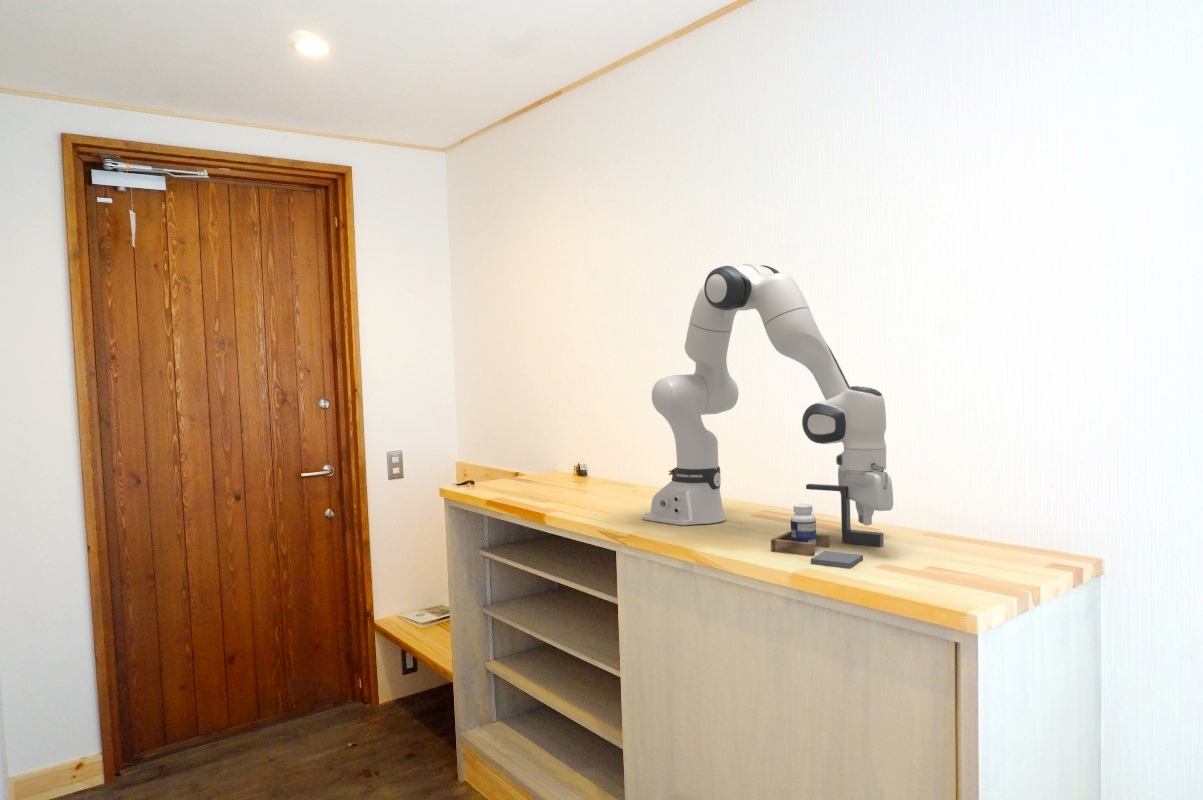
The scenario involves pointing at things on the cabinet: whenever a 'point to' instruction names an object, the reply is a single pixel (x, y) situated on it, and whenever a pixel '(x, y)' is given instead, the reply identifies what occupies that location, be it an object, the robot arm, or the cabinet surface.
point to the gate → (847, 533)
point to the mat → (837, 559)
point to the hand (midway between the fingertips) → (865, 523)
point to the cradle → (798, 544)
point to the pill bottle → (803, 524)
